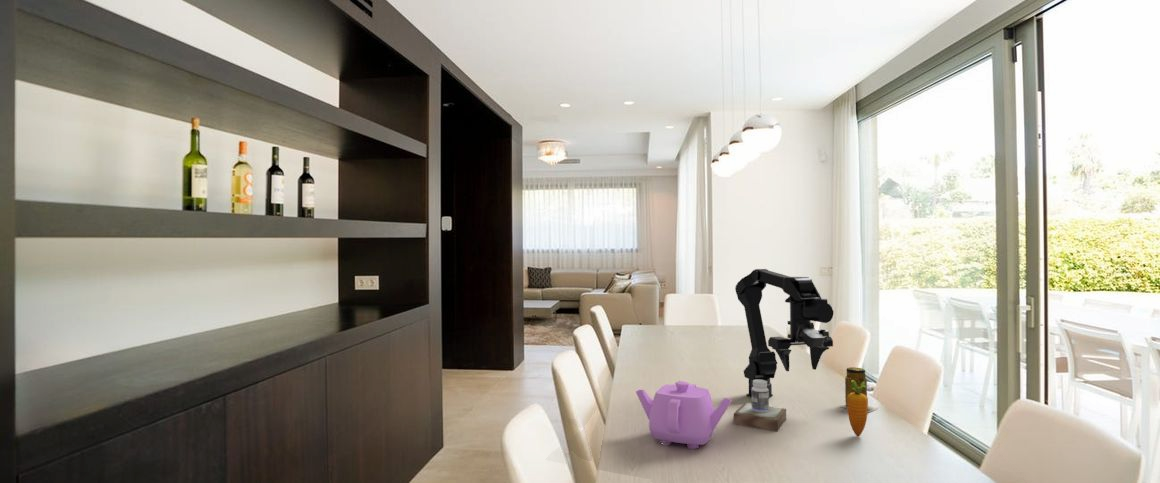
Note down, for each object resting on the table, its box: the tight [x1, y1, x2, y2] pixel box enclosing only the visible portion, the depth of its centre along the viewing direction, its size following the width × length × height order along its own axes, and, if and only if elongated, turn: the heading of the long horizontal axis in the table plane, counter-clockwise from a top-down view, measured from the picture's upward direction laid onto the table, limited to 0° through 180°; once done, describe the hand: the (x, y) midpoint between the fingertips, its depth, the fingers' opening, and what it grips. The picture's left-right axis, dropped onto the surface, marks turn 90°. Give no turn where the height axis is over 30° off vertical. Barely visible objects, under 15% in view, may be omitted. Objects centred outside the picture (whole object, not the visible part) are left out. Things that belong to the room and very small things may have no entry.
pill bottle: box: [751, 379, 770, 412], centre depth 154 cm, size 5×5×8 cm
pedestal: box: [733, 402, 787, 432], centre depth 154 cm, size 12×12×3 cm
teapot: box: [635, 380, 732, 450], centre depth 140 cm, size 19×18×15 cm
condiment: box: [840, 366, 879, 413], centre depth 166 cm, size 7×8×12 cm
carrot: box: [846, 380, 869, 437], centre depth 141 cm, size 5×5×15 cm
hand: (800, 370), depth 161 cm, fingers open, 9 cm apart
